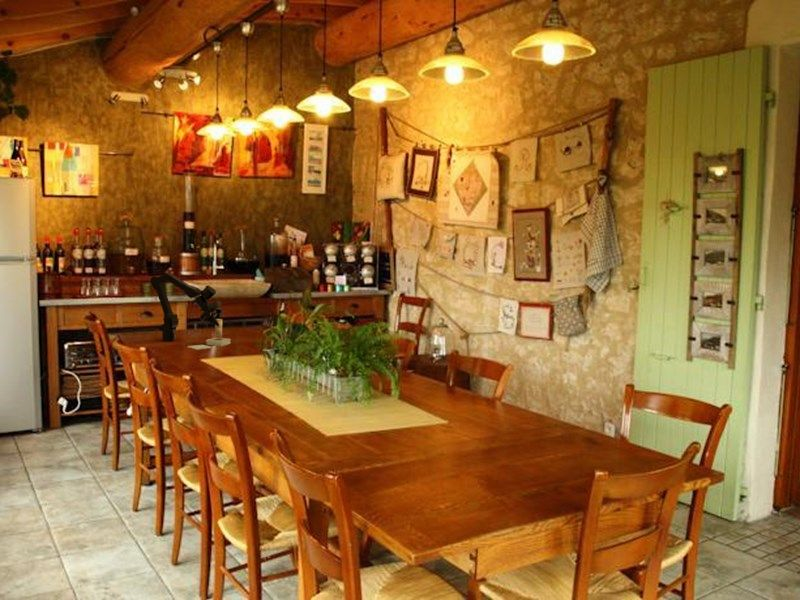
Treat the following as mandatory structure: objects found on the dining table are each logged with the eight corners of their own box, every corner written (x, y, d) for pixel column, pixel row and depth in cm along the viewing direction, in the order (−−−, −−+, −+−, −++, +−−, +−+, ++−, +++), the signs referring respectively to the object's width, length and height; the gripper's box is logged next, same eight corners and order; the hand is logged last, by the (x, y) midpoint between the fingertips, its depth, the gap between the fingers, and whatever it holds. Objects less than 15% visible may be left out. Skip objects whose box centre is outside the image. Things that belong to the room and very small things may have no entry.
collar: (206, 344, 453) (206, 339, 453) (215, 342, 463) (215, 337, 463) (221, 346, 450) (221, 341, 450) (230, 343, 460) (230, 338, 460)
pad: (187, 347, 443) (187, 346, 443) (202, 345, 450) (202, 344, 450) (196, 349, 436) (196, 348, 436) (212, 348, 443) (212, 347, 443)
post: (213, 336, 455) (213, 319, 454) (217, 335, 459) (217, 318, 458) (219, 337, 454) (220, 319, 453) (223, 336, 458) (223, 319, 457)
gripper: (204, 297, 446) (221, 318, 444) (221, 294, 464) (237, 314, 462) (192, 310, 449) (209, 330, 447) (209, 307, 467) (225, 326, 465)
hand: (220, 325), depth 455 cm, fingers closed on post, 4 cm apart
